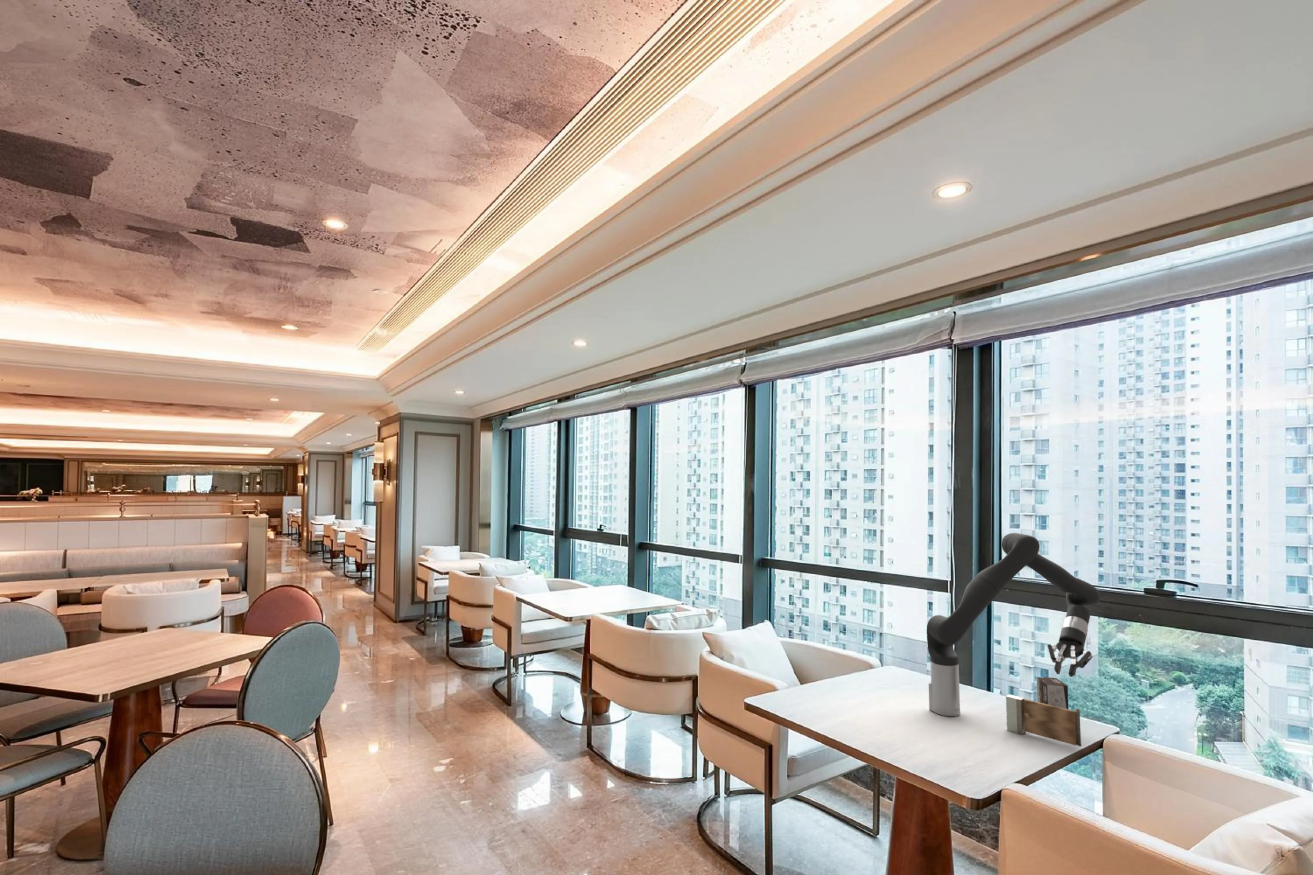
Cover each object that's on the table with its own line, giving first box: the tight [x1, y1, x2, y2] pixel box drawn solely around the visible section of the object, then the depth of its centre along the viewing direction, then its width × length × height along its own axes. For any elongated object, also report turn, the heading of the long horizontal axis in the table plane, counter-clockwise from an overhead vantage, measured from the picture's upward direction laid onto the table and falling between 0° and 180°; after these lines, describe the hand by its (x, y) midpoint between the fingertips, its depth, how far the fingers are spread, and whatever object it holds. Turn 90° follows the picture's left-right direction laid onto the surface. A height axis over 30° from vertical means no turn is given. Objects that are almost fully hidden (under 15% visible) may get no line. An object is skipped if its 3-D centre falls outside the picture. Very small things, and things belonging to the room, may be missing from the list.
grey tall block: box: [1005, 694, 1027, 736], centre depth 208 cm, size 5×3×11 cm, turn 41°
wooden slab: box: [1024, 699, 1082, 747], centre depth 199 cm, size 16×2×11 cm, turn 41°
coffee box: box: [1036, 676, 1070, 710], centre depth 209 cm, size 9×6×16 cm
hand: (1064, 673), depth 217 cm, fingers open, 3 cm apart
